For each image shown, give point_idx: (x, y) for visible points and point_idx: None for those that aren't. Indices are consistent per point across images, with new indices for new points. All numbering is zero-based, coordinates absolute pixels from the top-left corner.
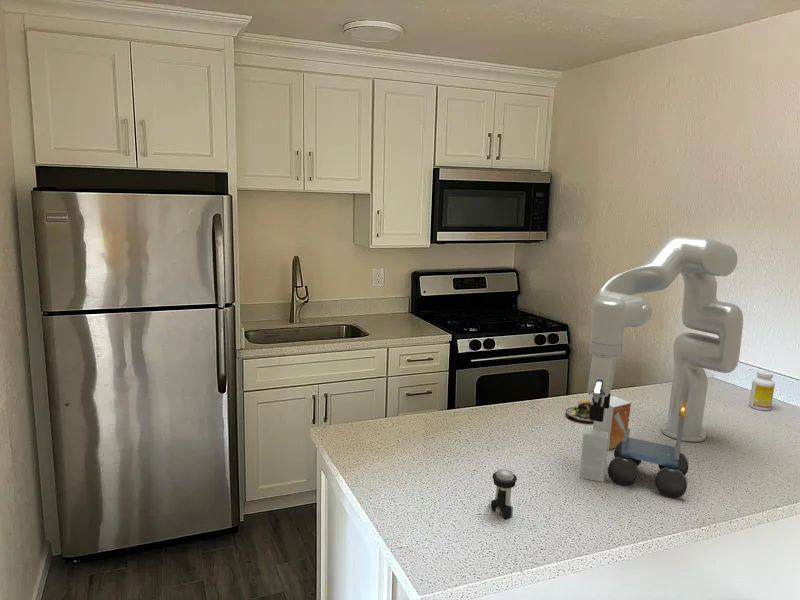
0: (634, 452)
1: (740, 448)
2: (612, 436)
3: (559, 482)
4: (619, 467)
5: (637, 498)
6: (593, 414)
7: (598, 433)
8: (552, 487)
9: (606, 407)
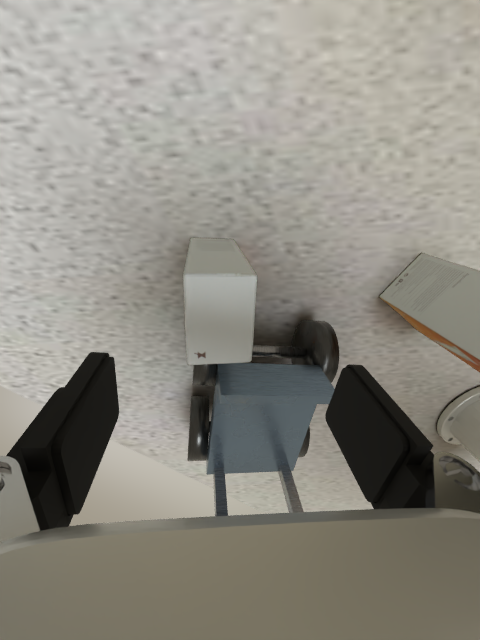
0: (218, 402)
1: None
2: (407, 316)
3: (128, 181)
4: None
5: (155, 361)
6: (49, 406)
7: (218, 332)
8: (81, 161)
9: (328, 414)
